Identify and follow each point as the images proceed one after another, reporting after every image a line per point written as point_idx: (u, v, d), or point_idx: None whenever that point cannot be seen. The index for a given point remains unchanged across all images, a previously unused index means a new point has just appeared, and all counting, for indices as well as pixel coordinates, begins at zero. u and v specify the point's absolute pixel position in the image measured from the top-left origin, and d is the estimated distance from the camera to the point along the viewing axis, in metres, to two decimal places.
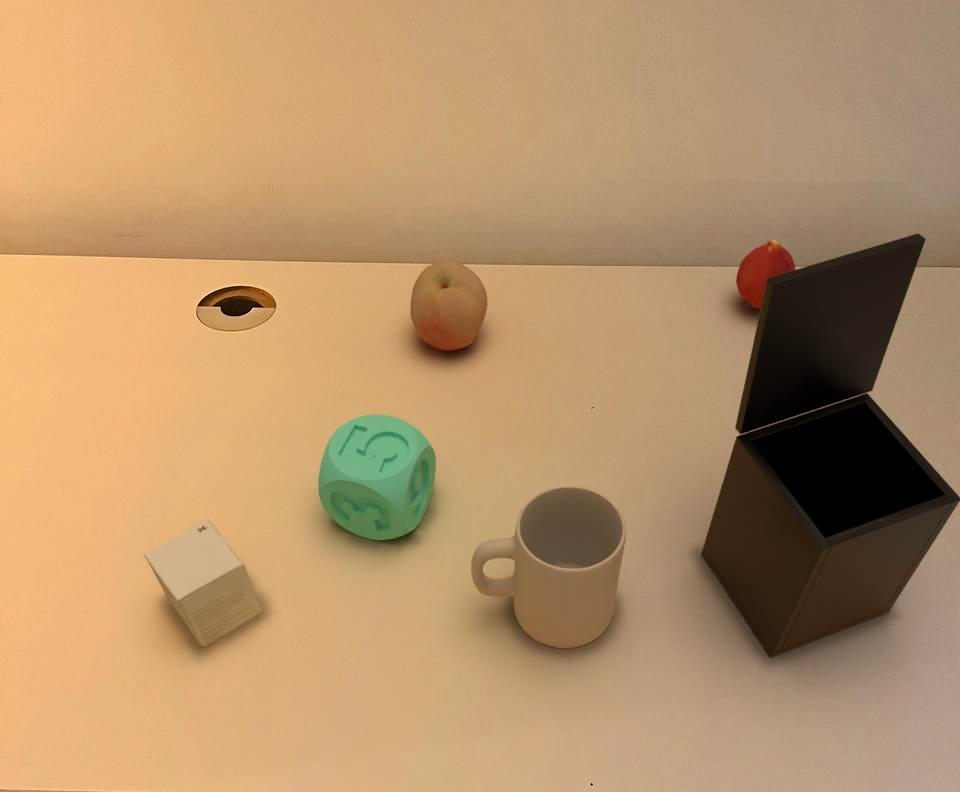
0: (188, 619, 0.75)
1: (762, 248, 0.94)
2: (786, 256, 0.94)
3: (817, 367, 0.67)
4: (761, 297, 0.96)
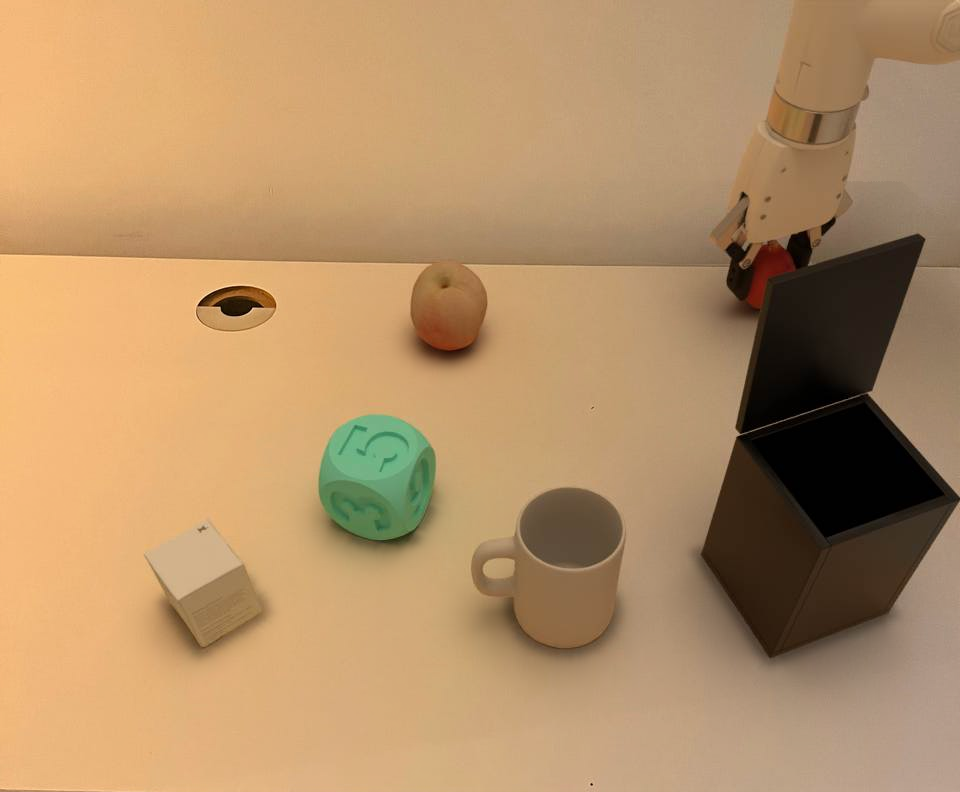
0: (188, 619, 0.75)
1: (762, 248, 0.94)
2: (786, 256, 0.94)
3: (817, 367, 0.67)
4: (761, 297, 0.96)
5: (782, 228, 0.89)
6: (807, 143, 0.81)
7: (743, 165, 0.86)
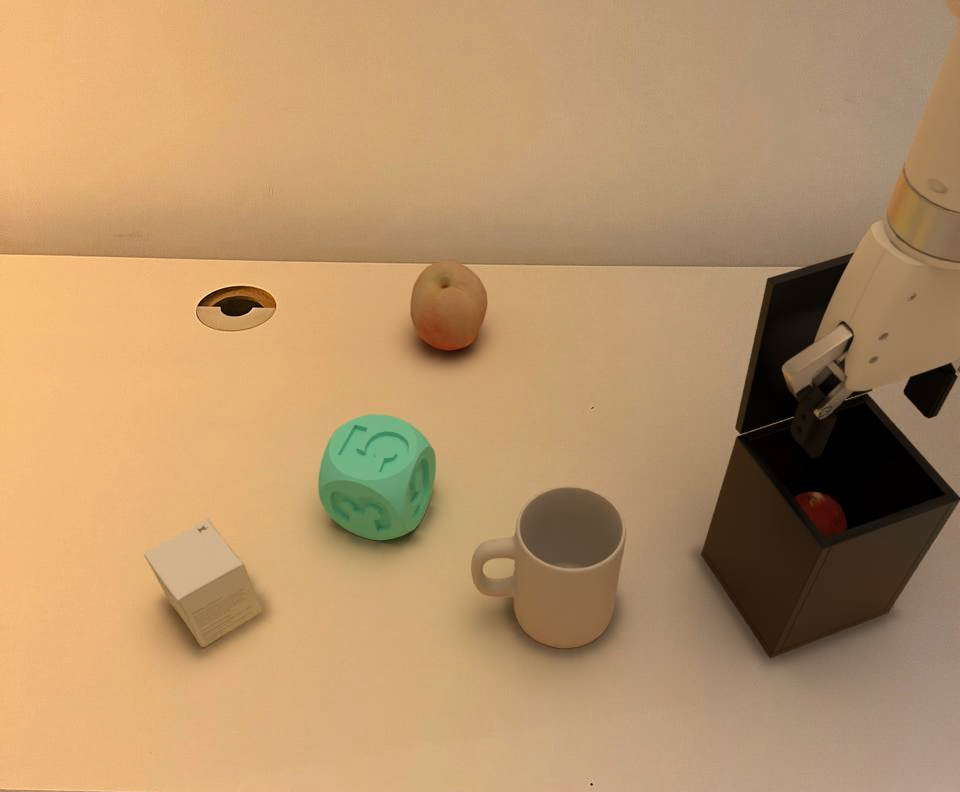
0: (188, 619, 0.75)
1: (802, 500, 0.76)
2: (833, 509, 0.76)
3: None
4: None
5: (898, 370, 0.60)
6: (955, 261, 0.52)
7: (846, 284, 0.57)
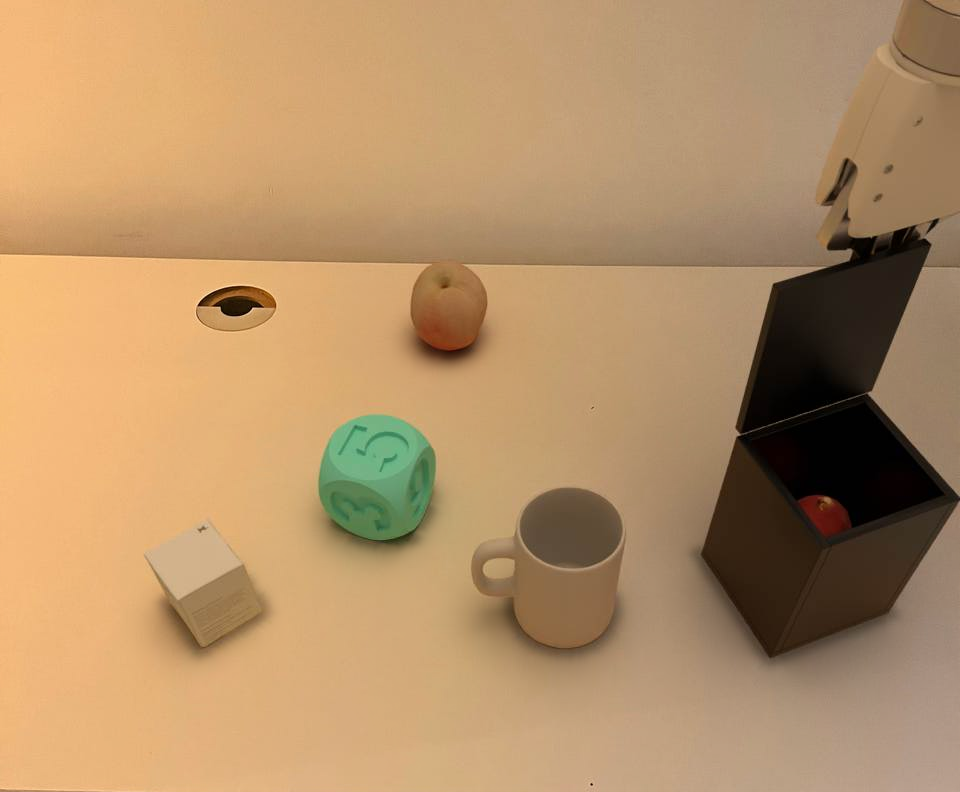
0: (188, 619, 0.75)
1: (811, 504, 0.76)
2: (842, 515, 0.76)
3: (819, 369, 0.67)
4: None
5: (903, 215, 0.58)
6: None
7: (850, 116, 0.55)
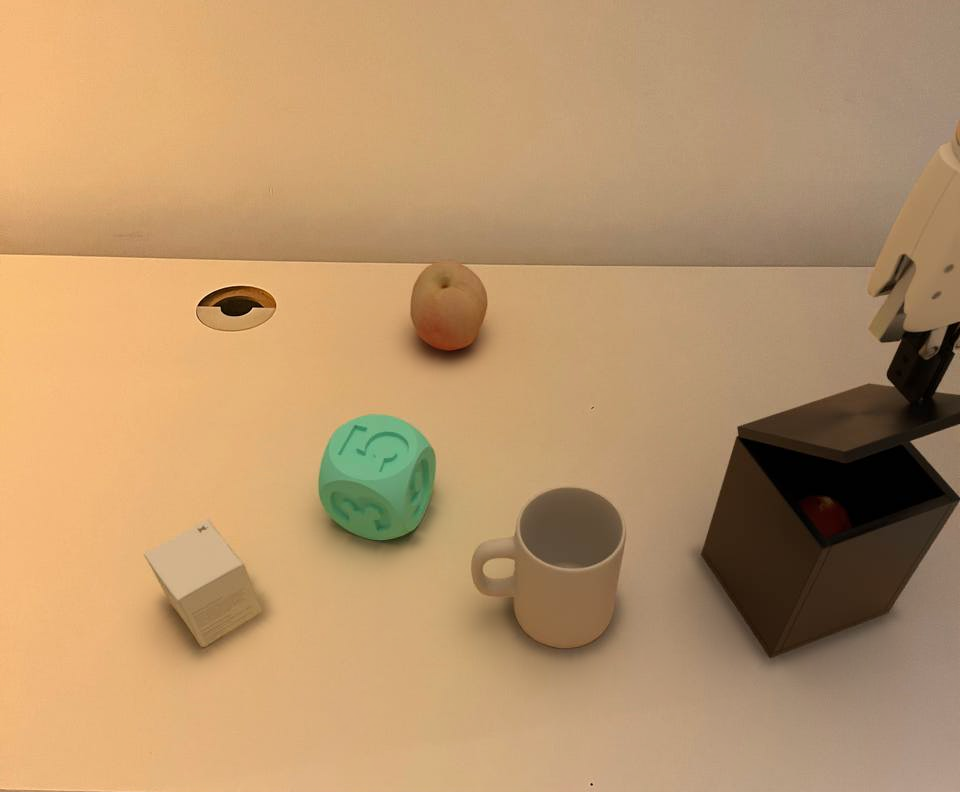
0: (188, 619, 0.75)
1: (811, 504, 0.76)
2: (842, 515, 0.76)
3: None
4: None
5: None
6: None
7: (909, 213, 0.54)
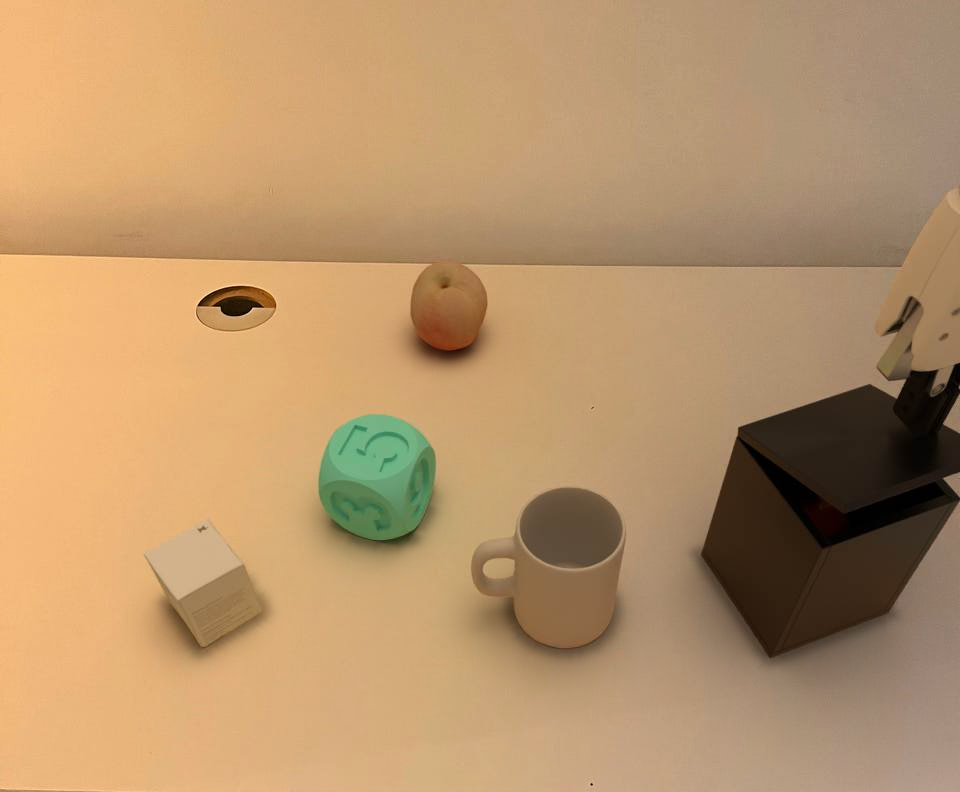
0: (188, 619, 0.75)
1: (811, 504, 0.76)
2: (842, 515, 0.76)
3: None
4: None
5: None
6: None
7: (917, 256, 0.54)
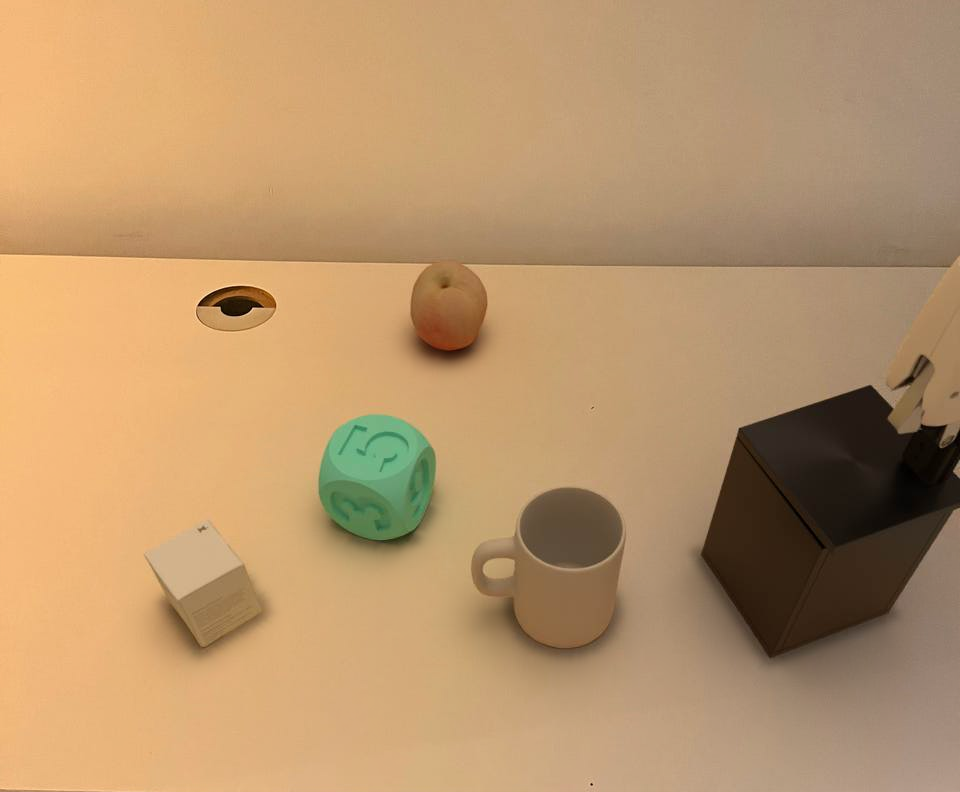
0: (188, 619, 0.75)
1: None
2: None
3: None
4: None
5: None
6: None
7: (928, 316, 0.55)
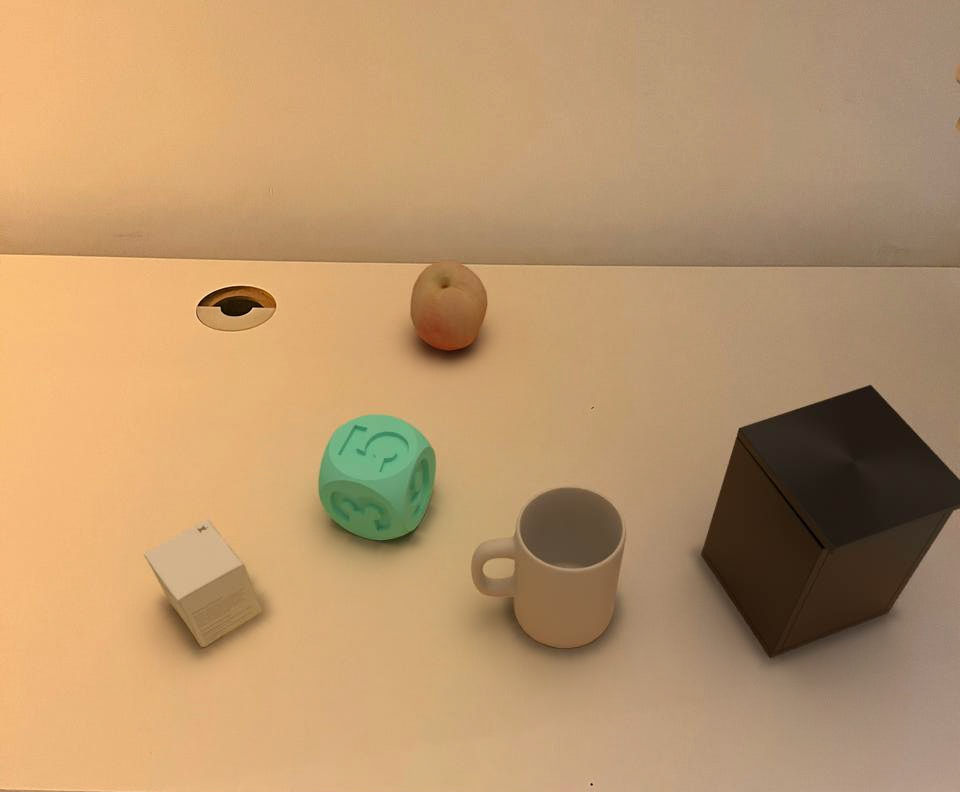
0: (188, 619, 0.75)
1: None
2: None
3: None
4: None
5: None
6: None
7: None
